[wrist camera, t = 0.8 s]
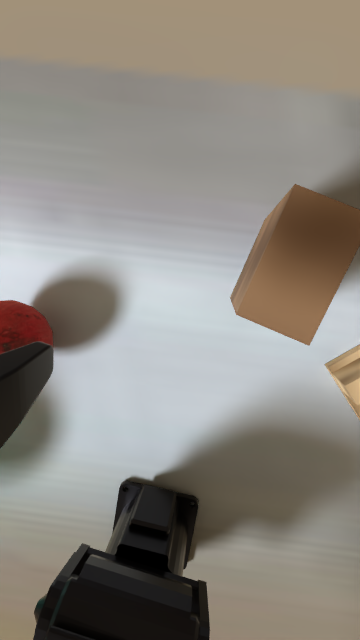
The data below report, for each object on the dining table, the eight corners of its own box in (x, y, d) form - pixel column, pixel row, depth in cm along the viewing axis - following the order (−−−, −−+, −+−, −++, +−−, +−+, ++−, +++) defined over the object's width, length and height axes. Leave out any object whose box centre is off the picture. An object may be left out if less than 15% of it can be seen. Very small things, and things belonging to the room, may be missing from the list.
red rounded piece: (67, 296, 27) (3, 306, 19) (73, 367, 27) (14, 406, 20) (-2, 297, 27) (-92, 308, 19) (5, 367, 28) (-78, 405, 20)
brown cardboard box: (274, 316, 25) (309, 345, 15) (230, 297, 25) (236, 314, 15) (311, 238, 24) (374, 215, 14) (264, 219, 24) (295, 184, 14)
